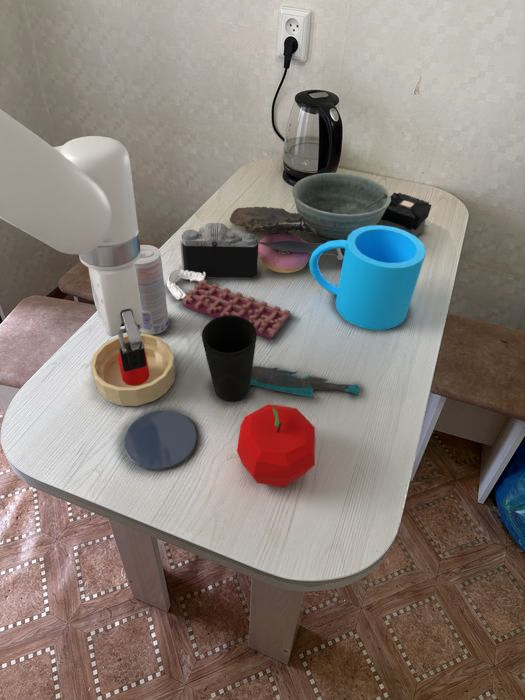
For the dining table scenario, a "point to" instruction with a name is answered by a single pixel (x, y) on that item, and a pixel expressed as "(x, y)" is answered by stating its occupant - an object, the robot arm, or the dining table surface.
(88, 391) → the dining table surface
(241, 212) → the rock
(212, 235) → the camera
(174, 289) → the false teeth
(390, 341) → the dining table surface
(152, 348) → the serving bowl
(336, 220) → the bowl
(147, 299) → the beverage can
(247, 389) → the cup
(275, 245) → the knife
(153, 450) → the dark grey coaster
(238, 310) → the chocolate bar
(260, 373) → the knife
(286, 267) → the doughnut
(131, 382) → the red cylinder
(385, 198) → the screw
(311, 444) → the apple
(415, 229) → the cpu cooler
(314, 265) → the mug
